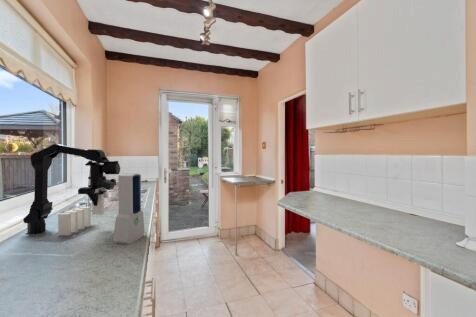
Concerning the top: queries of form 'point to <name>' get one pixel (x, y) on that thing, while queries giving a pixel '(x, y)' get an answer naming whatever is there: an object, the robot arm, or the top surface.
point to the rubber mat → (62, 238)
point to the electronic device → (129, 209)
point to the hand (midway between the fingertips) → (97, 205)
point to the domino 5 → (98, 206)
